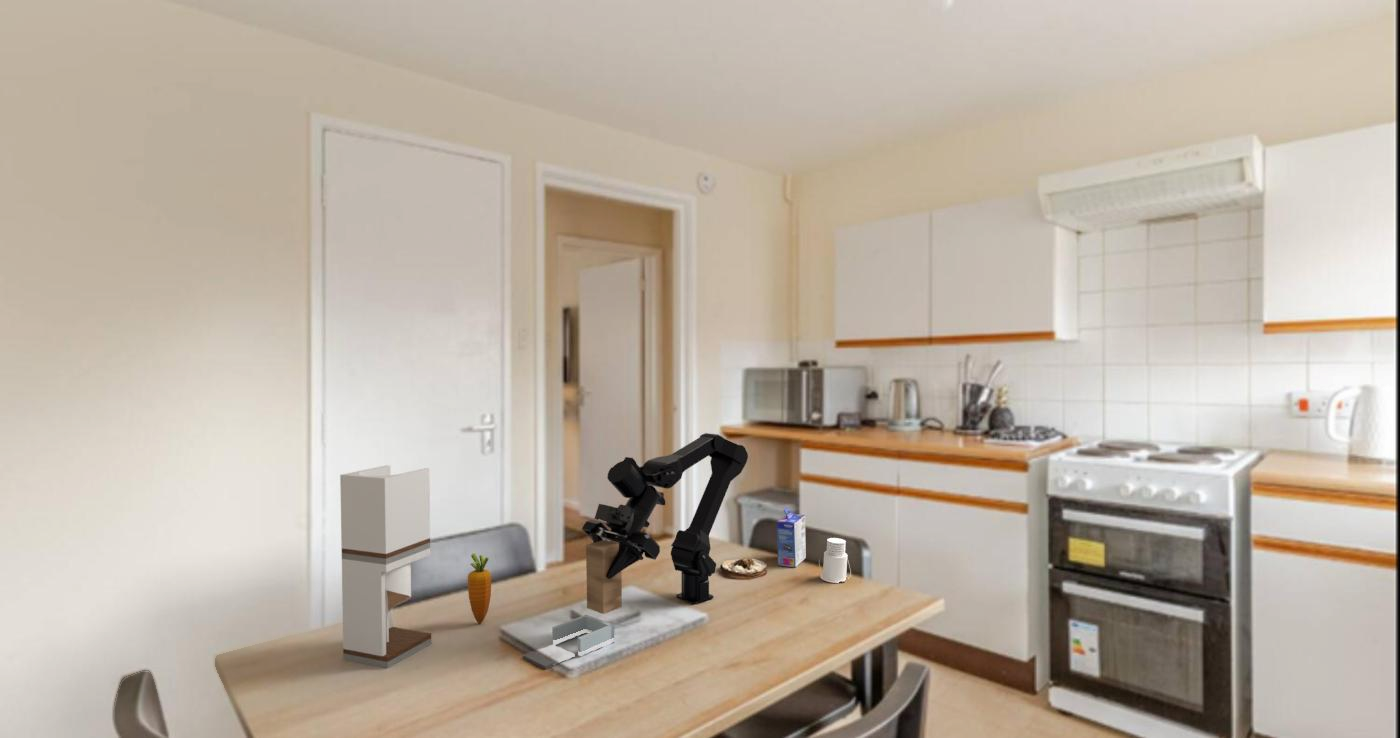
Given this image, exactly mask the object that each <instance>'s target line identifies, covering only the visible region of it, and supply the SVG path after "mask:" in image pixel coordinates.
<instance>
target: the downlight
mask: <svg viewBox="0 0 1400 738" xmlns="http://www.w3.org/2000/svg"><path fill="white" fill-rule="evenodd" d="M826 540H827V541H826V551H824V552H823V566H822V567H823V569H822V570H821V566H820V561H821V559H819V561H818V566H819V569H820V573H821V574H820V579H821V580H822V581H825V582H828V583H831V584H833V583H834V584H840V583H839V582H840V581H845V580H846V577H847V569H848V568H847V567H850V562H849V559H848V553H846V544H847V543H846V542H847V541H846V540H845V539H843V538H838V537H830V538H827V539H826ZM848 565H849V566H848ZM849 570H850V571H852V570H851V568H849ZM849 575H850V578H851V576H852V572H850V574H849Z"/></svg>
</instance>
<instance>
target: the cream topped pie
mask: <svg viewBox="0 0 1400 738" xmlns="http://www.w3.org/2000/svg"><path fill="white" fill-rule="evenodd" d="M768 568H769V567H768V564H767V563H765V562H764V561H763V560H760V559H756V558H751V557H750V558H748V557H744V558H743V557H742V558H732V559H731V558H730V559H725V560H723V561H722V562H721V564H720V567H719V569H720V571H721V573H722V574H723V575H722V577H727V578H729V579H734V580H735V579H737V580H748V581H749V580H752V579H758V578H762V577H764V576H765V577H766V575H767V573H768Z"/></svg>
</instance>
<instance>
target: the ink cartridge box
mask: <svg viewBox="0 0 1400 738" xmlns="http://www.w3.org/2000/svg"><path fill="white" fill-rule="evenodd" d="M783 512H784V514H785V515H784V516H783V517H781V518H780V519H779V520H777V521H776V535H777V538H776V539H777V541H776V542H777V565H778V566H780V567H781V566H783V567H790V568H796V567H798V566H799V565H800V564H801V563H802V562H803V561H804V560H805V559H806V558H807V557H806V556H807V554H806V553H807V552H806V550H807V549H806V545H807V544H806V516H805V514H798V513H792V512H791V510H790V508H789V507H786V508H785V509H784V510H783Z"/></svg>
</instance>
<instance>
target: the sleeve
mask: <svg viewBox="0 0 1400 738" xmlns="http://www.w3.org/2000/svg"><path fill="white" fill-rule="evenodd" d="M583 629H588V630H592V631H593V632H591V633H588V634H583V635H581V636H578V637H577V652H578V651H579V652H582V651H585V650H587V649H589V648H591V647H593V646H595V645H598V644H600V643H602V642H605V641H607V640H609V639H612V638H614V639H615V625H614V624H612V623H609V622H606V621H605V620H601V619H599V618H596V617H594V616H591V615H589V614H584V615H581V616H579V617H576V618H573V619H570V620H568V621H565V622H563V623H560V624H559V623H558V624H557V625H555V626H552V632H551V633H552V639H553V640H557V639H560V638H563V637H565V636H568V635H570V634H573V633H576V632H578V631H581V630H583ZM522 659H523V660H525V661H528V662H529V663H532V664H533V665H536V666H537V667H540V668H541V669H543V670H548V669H551V668H553V667H554V666H553V664H554V663H553V662H552V661H550V660H548V659H546V658H544V657H542V656H540V655H539V654H536V653H535V652H533V651H531V652H527V653H526V654H523V655H522Z"/></svg>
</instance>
